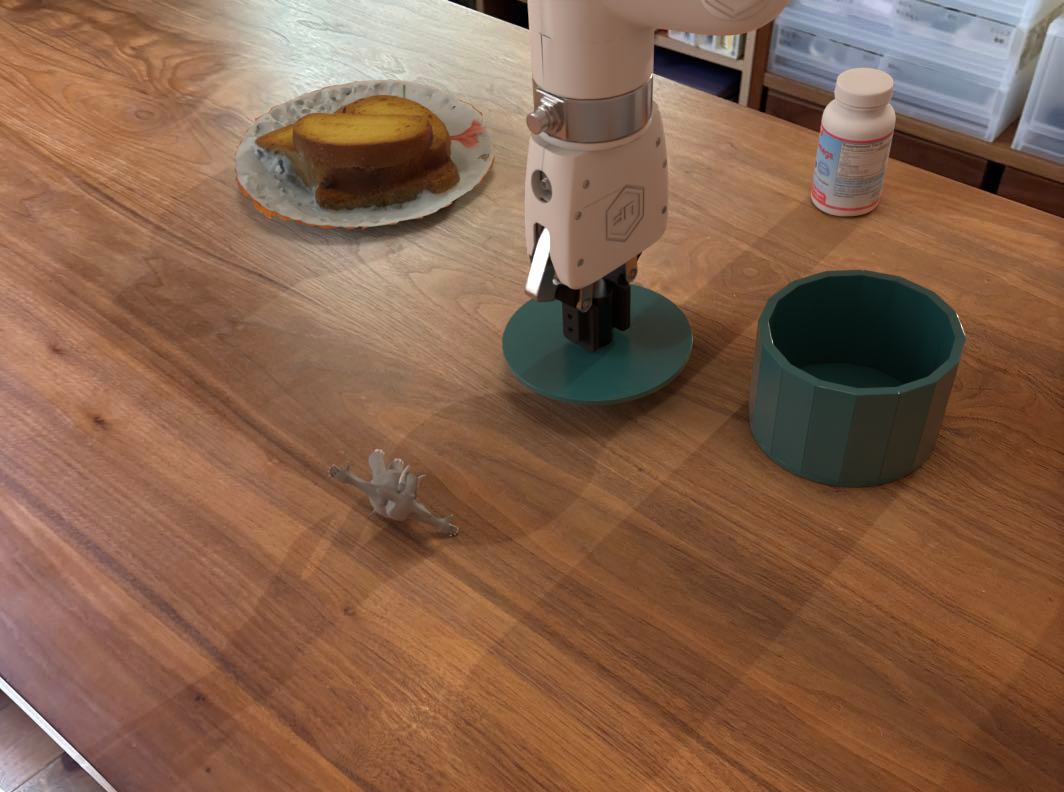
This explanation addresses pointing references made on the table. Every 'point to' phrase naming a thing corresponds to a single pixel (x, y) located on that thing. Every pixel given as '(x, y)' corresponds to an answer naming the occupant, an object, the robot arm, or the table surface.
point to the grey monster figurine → (393, 492)
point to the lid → (599, 349)
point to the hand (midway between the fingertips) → (596, 331)
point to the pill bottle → (854, 143)
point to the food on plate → (363, 154)
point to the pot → (853, 376)
